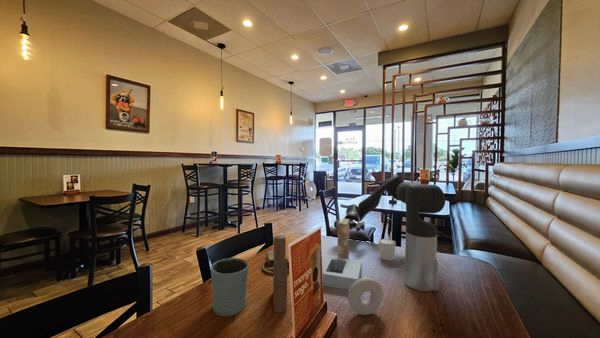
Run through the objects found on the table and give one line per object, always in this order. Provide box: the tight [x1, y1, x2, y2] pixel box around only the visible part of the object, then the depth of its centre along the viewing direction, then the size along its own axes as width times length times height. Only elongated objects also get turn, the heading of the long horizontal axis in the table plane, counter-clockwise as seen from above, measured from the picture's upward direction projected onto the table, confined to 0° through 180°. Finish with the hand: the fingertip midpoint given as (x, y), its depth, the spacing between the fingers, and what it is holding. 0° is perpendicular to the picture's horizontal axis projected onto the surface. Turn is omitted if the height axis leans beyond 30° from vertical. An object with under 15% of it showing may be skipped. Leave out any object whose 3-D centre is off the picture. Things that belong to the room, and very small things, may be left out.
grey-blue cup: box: [210, 257, 249, 317], centre depth 70 cm, size 10×10×12 cm
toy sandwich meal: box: [261, 249, 290, 275], centre depth 96 cm, size 12×14×5 cm
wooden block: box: [272, 234, 288, 313], centre depth 73 cm, size 4×11×18 cm, turn 7°
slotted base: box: [321, 255, 363, 291], centre depth 88 cm, size 16×14×4 cm
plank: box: [336, 217, 350, 259], centre depth 103 cm, size 4×8×16 cm, turn 162°
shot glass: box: [378, 238, 397, 261], centre depth 105 cm, size 7×7×7 cm
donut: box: [347, 276, 384, 316], centre depth 67 cm, size 10×3×10 cm, turn 104°
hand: (347, 228), depth 114 cm, fingers open, 8 cm apart
